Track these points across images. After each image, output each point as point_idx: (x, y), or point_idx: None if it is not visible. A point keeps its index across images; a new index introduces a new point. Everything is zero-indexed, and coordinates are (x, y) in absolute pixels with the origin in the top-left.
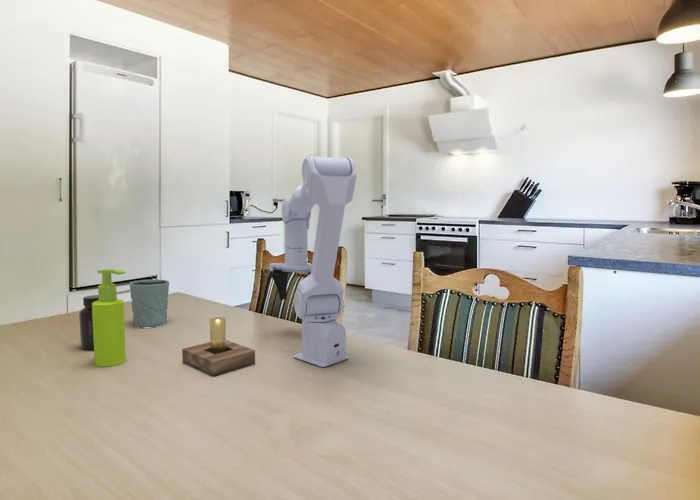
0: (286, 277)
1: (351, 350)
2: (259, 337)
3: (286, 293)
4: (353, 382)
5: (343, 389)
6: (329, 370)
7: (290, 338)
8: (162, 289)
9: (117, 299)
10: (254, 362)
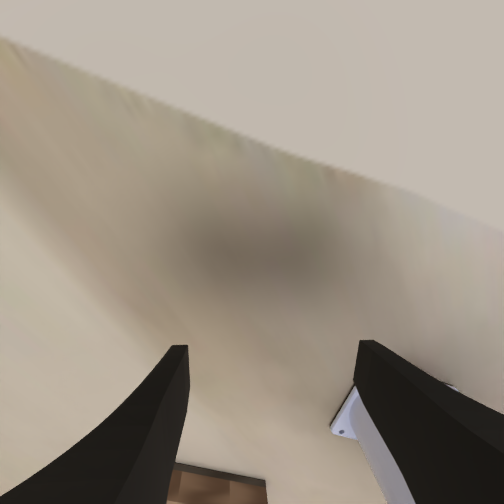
0: (135, 492)
1: (454, 330)
2: (146, 330)
3: (181, 362)
4: None
5: None
6: None
7: (246, 301)
8: None
9: None
10: (265, 486)
